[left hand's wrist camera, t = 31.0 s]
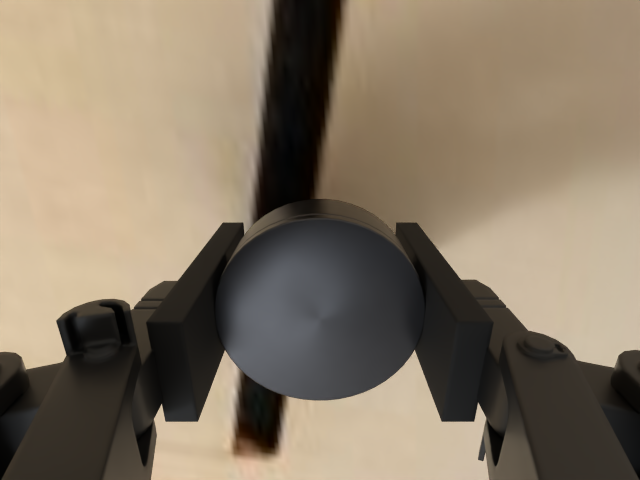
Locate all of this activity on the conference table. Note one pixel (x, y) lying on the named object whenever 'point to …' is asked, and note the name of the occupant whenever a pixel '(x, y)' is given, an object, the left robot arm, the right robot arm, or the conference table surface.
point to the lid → (319, 301)
